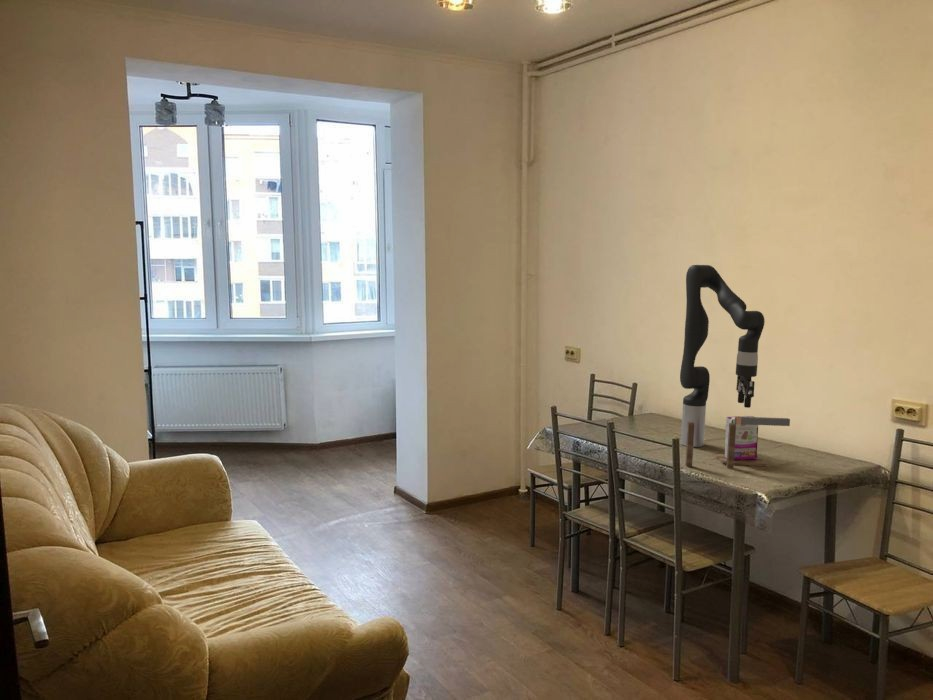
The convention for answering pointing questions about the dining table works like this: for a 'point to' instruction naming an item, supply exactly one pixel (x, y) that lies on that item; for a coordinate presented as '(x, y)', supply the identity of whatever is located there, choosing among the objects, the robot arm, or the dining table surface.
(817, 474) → the dining table surface
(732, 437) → the posts
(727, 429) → the candy bar box
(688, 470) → the dining table surface
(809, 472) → the dining table surface
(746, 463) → the walnut board
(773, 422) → the bar
